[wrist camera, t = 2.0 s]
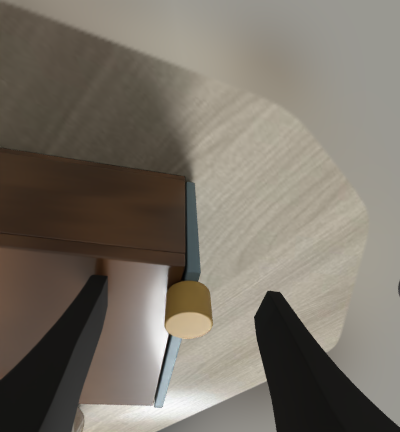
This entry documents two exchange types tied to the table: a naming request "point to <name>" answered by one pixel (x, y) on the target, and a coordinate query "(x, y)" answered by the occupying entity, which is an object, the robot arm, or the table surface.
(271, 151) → the table surface
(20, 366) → the robot arm
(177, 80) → the table surface
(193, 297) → the blue cabinet door
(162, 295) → the cabinet
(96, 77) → the table surface
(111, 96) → the table surface
